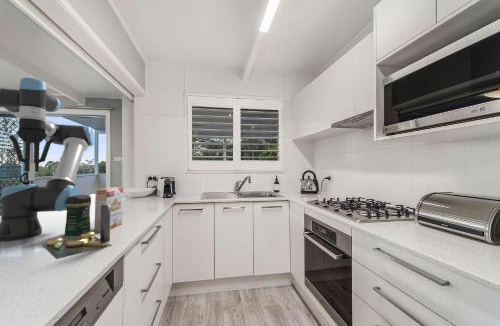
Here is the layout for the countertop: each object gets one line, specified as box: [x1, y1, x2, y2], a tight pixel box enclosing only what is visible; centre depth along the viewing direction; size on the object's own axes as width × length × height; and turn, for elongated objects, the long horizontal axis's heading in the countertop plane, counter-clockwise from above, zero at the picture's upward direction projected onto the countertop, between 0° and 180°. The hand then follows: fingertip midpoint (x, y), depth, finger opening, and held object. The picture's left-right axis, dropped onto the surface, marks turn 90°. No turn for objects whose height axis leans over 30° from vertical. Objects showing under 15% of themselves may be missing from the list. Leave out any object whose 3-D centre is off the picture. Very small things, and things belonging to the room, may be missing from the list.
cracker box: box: [93, 186, 124, 233], centre depth 117 cm, size 14×6×21 cm, turn 179°
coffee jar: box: [63, 194, 92, 237], centre depth 106 cm, size 10×8×19 cm
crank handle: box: [66, 205, 111, 247], centre depth 91 cm, size 17×7×16 cm, turn 81°
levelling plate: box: [41, 230, 113, 260], centre depth 90 cm, size 22×17×3 cm
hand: (31, 180), depth 90 cm, fingers closed
